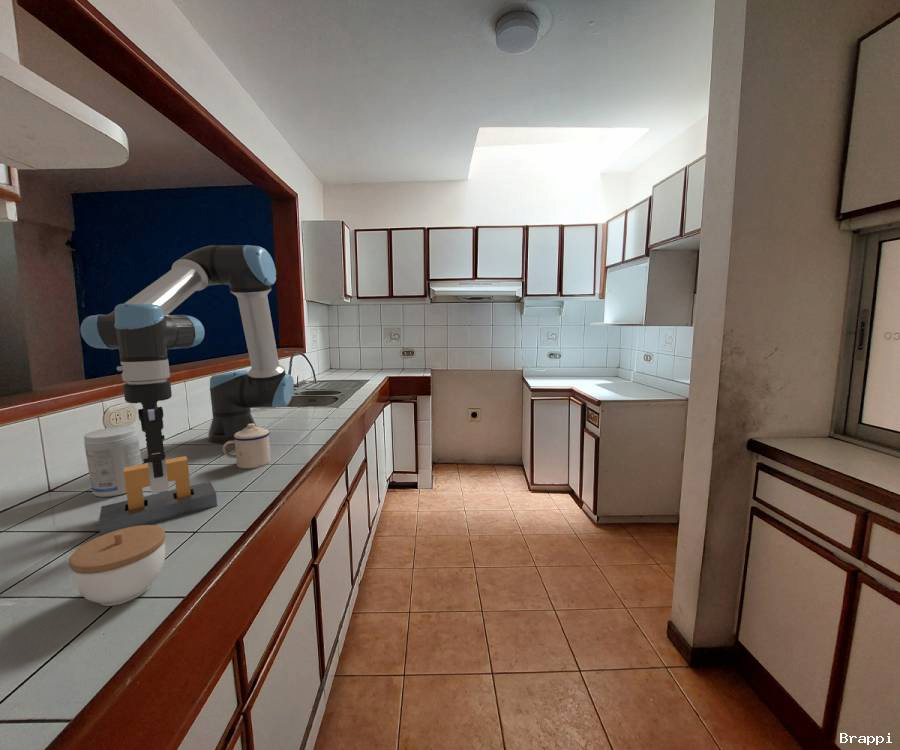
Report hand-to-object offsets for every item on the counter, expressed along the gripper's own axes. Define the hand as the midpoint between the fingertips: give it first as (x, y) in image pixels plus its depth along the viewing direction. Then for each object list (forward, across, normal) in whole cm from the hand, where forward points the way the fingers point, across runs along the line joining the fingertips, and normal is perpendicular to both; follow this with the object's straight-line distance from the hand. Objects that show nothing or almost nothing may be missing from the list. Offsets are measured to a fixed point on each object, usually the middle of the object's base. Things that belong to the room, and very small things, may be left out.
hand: (158, 480), depth 79 cm
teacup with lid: (+7, -19, +20) cm, 29 cm away
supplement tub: (+7, -21, -8) cm, 23 cm away
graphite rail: (+7, 0, 0) cm, 7 cm away
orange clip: (+7, 0, 0) cm, 7 cm away
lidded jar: (+8, +26, -6) cm, 28 cm away
